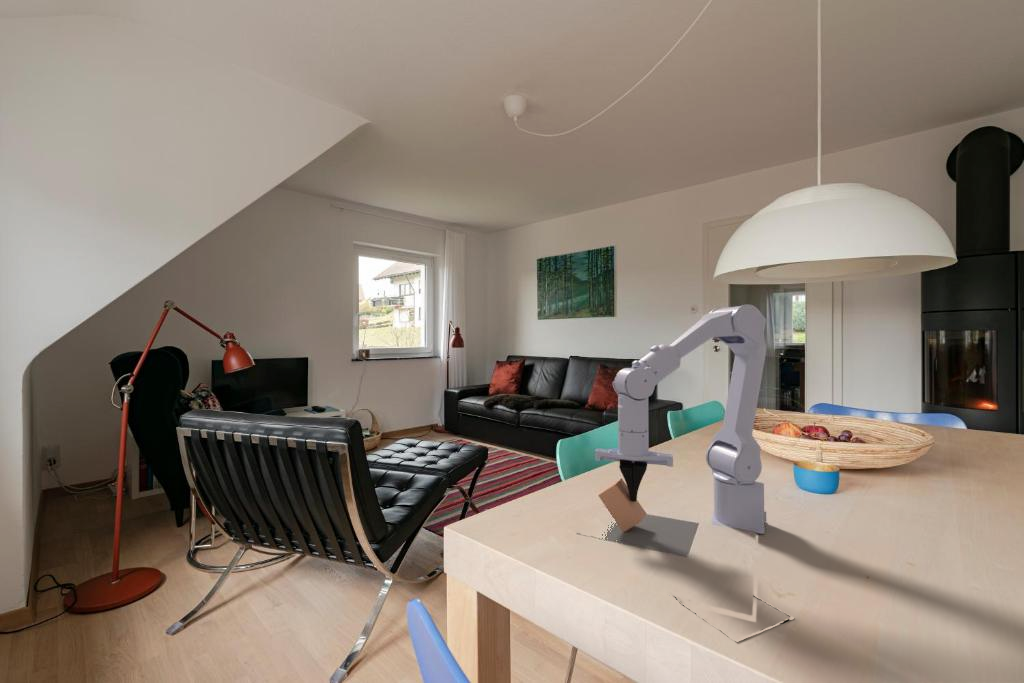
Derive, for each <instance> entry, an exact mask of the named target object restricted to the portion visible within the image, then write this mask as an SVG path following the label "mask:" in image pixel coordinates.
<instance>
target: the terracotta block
mask: <svg viewBox="0 0 1024 683" xmlns="http://www.w3.org/2000/svg"><path fill="white" fill-rule="evenodd" d="M598 497H599V499H600V500H601V502H602V503H603V504H604V507H606V508H607V509H608V511H609V512H610V514H611V515H612V517H613V518H614V519H615V521H616V522H617V524H618V525H619V527H620V528H621V530H622V531H623V532H625V531H626V530H628V529H630V528H631V527H633V526H635V525H636V524H638V523H640V522H641V521H642V520H643V518H644V517H645V515H646V514H648V513H647V512H646V510H645V509H644V508H643V506H642V505H641V503H640V502H639V500H637V501H636V502H633V501H630V495H629V491H628V487H627V484H626V481H625V480H624V478H619V479H618V480H616V481H615V482H613V483H612V484H610V485H608V487H605V488H604V489H602V491H601V492H600V493H599V494H598Z"/></svg>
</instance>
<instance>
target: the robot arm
mask: <svg viewBox="0 0 1024 683" xmlns="http://www.w3.org/2000/svg"><path fill="white" fill-rule="evenodd" d="M766 323H767V318H766V317H765V316H764V315H763V313H762V312H761V310H760V309H758V308H757V307H756V306H755V305H753V304H742V305H740V306H739V305H738V306H729V307H716V308H714V309H712V310H711V311H710V312H707V313H706V314H704V315H703V316H702V317H701V318H700V319H699V320H698V321H697V322H696V323H694V324H693V325H692V326H691V327H689V329H688V330H686V331H685V332H684V333H682V334H681V335H680V336H679V337H678V338H676V340H674V341H673V342H672V343H671V344H669V345H667V344H659V345H658V344H657V345H656V344H655V345H652V346H651V347H650V348H649V350H650V352H648V353H647V354H646V355H644V356H643V357H642V358H640V359H638V360H634V361H632V362H631V365H632V366H631V367H624V368H622V369H620V370H618V372H617V373H616V376H615V377H614V381H612V387H613V390H614V391H615V393H616V394H617V430H618V431H617V434H618V435H617V439H618V440H617V442H618V443H617V445H618V446H617V448H596V449H595V451H594V456H595V458H594V460H595V461H596V462H597V461H598V462H601V461H606V462H607V461H610V462H619V465H618V468H619V470H620V472H621V474H622V477H623V480H624V482H625V484H626V485H627V487H628V491H629V495H630V501H633V502H636V501H638V492H639V489H640V485H641V483H642V480H643V478H644V475H645V474H646V471H647V468H648V465H655V466H656V465H658V466H659V465H660V466H666V467H671V468H672V467H674V454H673V453H665V452H664V453H663V452H657V451H651V450H649V449H650V447H649V443H650V442H649V441H650V440H649V432H650V431H649V397H651V396H652V395H653V393H654V391H655V387H656V386H657V385H658V384H660V382H662V381H663V380H665V379H666V378H667V377H669V375H671V374H673V373H674V372H675V371H677V370H678V369H679V368H680V366H681V362H682V361H681V360H682V358H684V357H685V356H687V355H689V353H691V352H693V351H695V350H696V349H697V348H699V347H700V346H702V345H704V344H705V343H706V342H707V341H709V340H711V339H713V338H716V339H717V340H719V341H721V342H722V343H723V344H724V345H726V346H728V348H729V349H730V350H731V352H733V353H734V361H733V364H732V365H733V366H732V369H731V370H732V371H731V375H730V376H731V377H730V383H729V389H728V394H727V400H726V406H725V411H724V417H723V423H722V428H721V429H720V430H719V431H717V432H716V433H714V434H713V437H712V440H711V443H710V445H709V446H708V448H707V450H706V453H705V461H706V463H707V465H708V467H709V468H710V469H711V473H712V474H711V475H713V511H712V512H713V513H712V516H711V519H710V523H709V524H712V525H718V526H723V527H729V528H735V529H739V530H747V531H752V532H755V534H758V535H759V534H760V535H765V522H767V511H765V483H764V482H760V481H757V480H758V478H759V477H760V475H761V473H762V468H763V463H762V460H761V450H762V449H761V445H760V444H759V443H758V441H757V440H756V439H755V437H754V436H753V431H754V426H755V425H754V424H755V418H756V413H757V407H758V401H759V396H760V391H761V383H762V379H763V372H764V366H765V361H766V360H765V359H766V354H767V344H766V339H765V331H766V330H765V329H766Z"/></svg>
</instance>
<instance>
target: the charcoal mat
mask: <svg viewBox="0 0 1024 683" xmlns="http://www.w3.org/2000/svg"><path fill="white" fill-rule="evenodd" d="M611 523H612V522H611ZM613 524H614V523H613ZM613 524H612V525H613ZM616 524H617V522H616V523H615V524H614V527H613V526H612V525H611V527H610V528H611V529H612V530H611V529H610V531H611V532H610V531H609V530H608V529H607V531H608V532H607V536H606V534H605V536H606V537H605V540H604V541H607V540H608V542H612V541H613V543H616V542H617V544H621V543H622V545H627V546H631V547H636V548H640V549H646V550H650V551H656V552H659V553H660V552H661V553H665V554H670V555H673V556H674V555H675V556H677V557H678V556H679V557H683V558H688V556H689V552H690V550H691V547H692V545H693V541H694V539H695V536H696V533H697V529H698V526H699V522H694V521H687V520H683V519H679V518H677V519H676V518H671V517H665V516H661V515H660V516H659V515H654V514H648V513H647V514H646V515H645V517H644V518H643V520H642V521H641V522H640V523H638V524H636V525H635V526H633V527H631V528H630V529H628V530H626V531H625V532H623V531H622V530H621V528H620V527H619V525H618V524H617V525H616ZM608 526H609V525H608ZM612 527H613V528H612ZM608 528H609V527H608ZM604 533H605V532H604ZM602 536H603V534H602ZM607 538H608V539H607ZM602 539H603V538H602ZM602 539H600V538H599V539H598V540H602ZM616 540H617V541H616Z"/></svg>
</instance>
